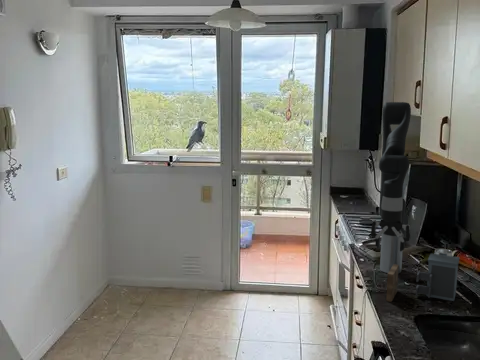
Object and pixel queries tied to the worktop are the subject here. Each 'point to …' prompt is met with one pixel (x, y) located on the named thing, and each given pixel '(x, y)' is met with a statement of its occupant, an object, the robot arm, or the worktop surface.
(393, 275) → the walnut door
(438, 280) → the slate cabinet
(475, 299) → the worktop surface
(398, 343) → the worktop surface
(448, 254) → the beer glass
